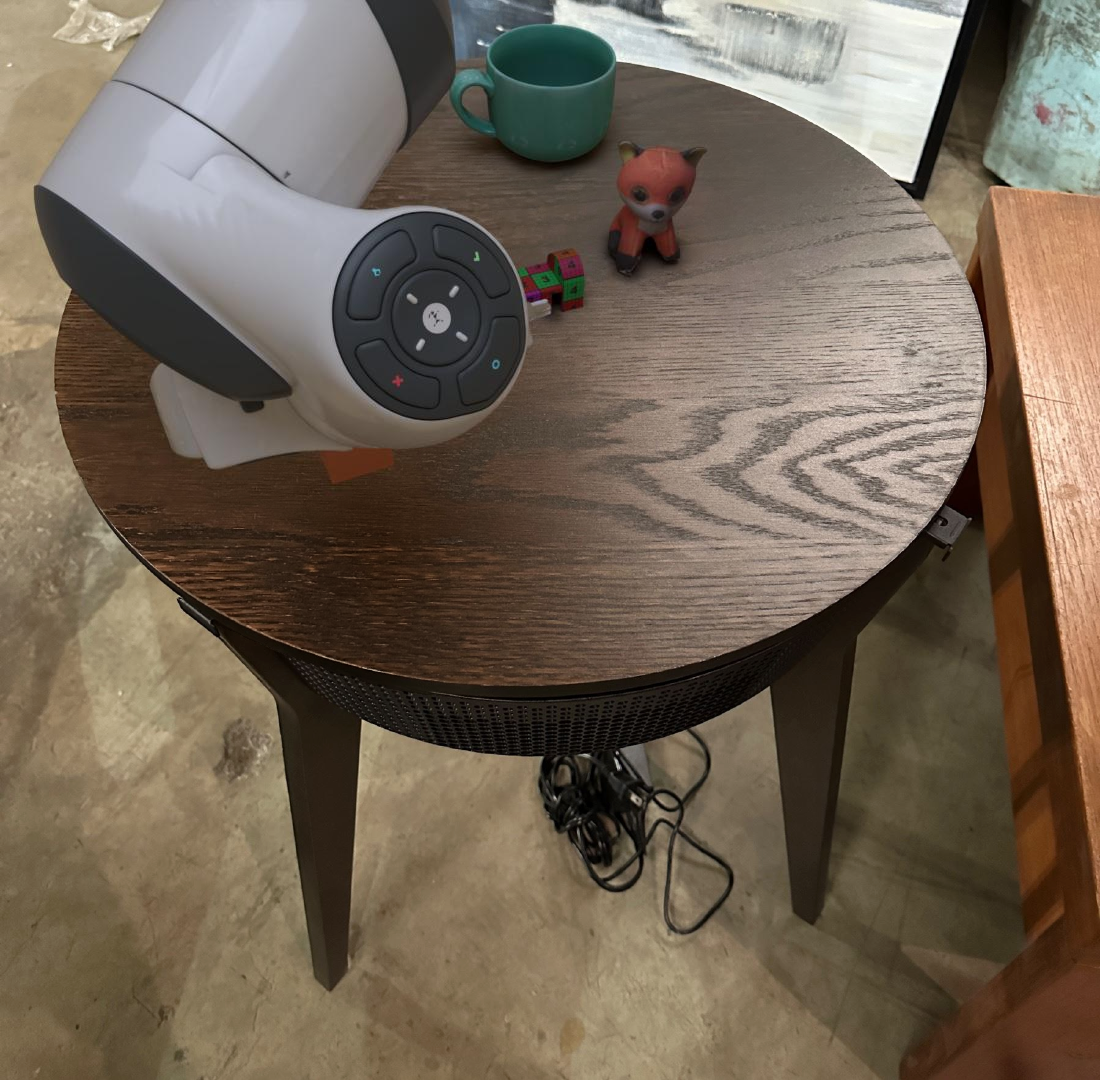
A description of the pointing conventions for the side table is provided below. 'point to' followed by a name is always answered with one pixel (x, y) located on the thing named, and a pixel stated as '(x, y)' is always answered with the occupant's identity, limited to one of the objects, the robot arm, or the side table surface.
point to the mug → (543, 91)
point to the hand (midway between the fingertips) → (332, 374)
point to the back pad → (355, 462)
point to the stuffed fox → (650, 200)
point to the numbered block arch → (555, 279)
